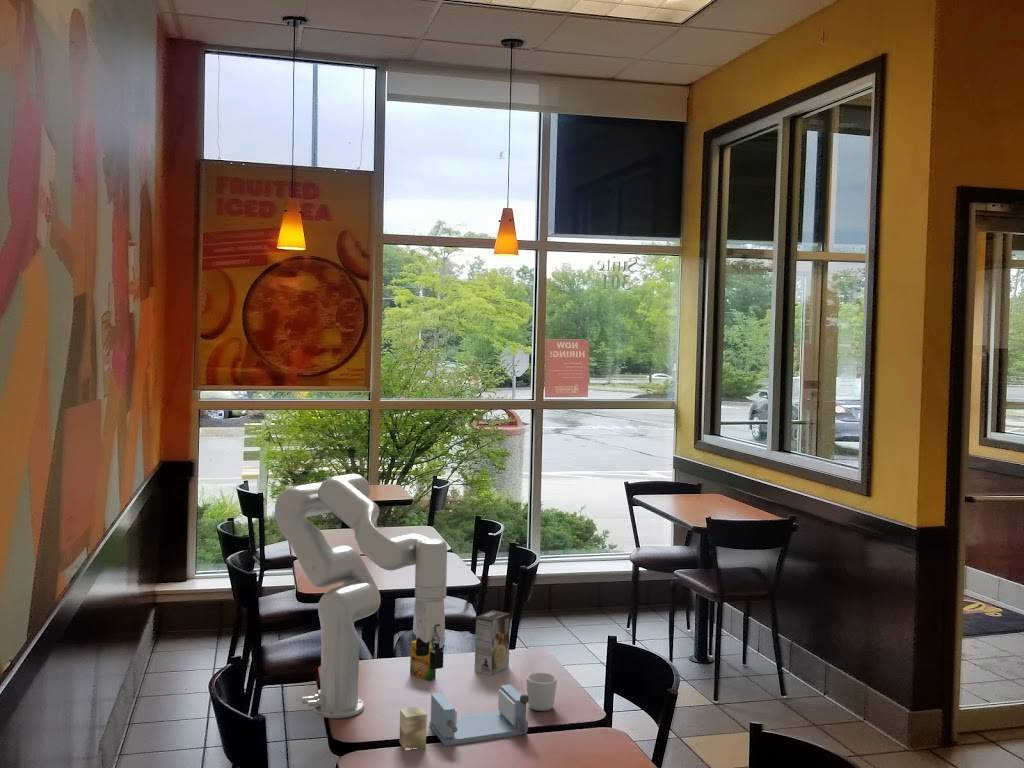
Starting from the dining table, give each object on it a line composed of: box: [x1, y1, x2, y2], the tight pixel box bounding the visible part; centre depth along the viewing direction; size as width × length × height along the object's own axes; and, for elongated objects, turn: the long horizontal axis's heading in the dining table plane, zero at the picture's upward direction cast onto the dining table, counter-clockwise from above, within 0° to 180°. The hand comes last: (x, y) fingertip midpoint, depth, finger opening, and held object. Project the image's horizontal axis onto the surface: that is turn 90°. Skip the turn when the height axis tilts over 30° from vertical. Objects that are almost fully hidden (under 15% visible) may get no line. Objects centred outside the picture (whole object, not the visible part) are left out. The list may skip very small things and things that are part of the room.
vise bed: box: [429, 684, 529, 747], centre depth 221 cm, size 21×14×10 cm
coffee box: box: [474, 610, 511, 676], centre depth 264 cm, size 9×6×16 cm
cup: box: [526, 672, 558, 712], centre depth 238 cm, size 11×8×8 cm
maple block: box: [398, 706, 428, 749], centre depth 212 cm, size 5×5×8 cm
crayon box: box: [409, 638, 437, 682], centre depth 256 cm, size 7×3×12 cm, turn 55°
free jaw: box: [430, 692, 458, 738], centre depth 217 cm, size 3×14×7 cm, turn 23°
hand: (429, 661), depth 217 cm, fingers open, 9 cm apart
